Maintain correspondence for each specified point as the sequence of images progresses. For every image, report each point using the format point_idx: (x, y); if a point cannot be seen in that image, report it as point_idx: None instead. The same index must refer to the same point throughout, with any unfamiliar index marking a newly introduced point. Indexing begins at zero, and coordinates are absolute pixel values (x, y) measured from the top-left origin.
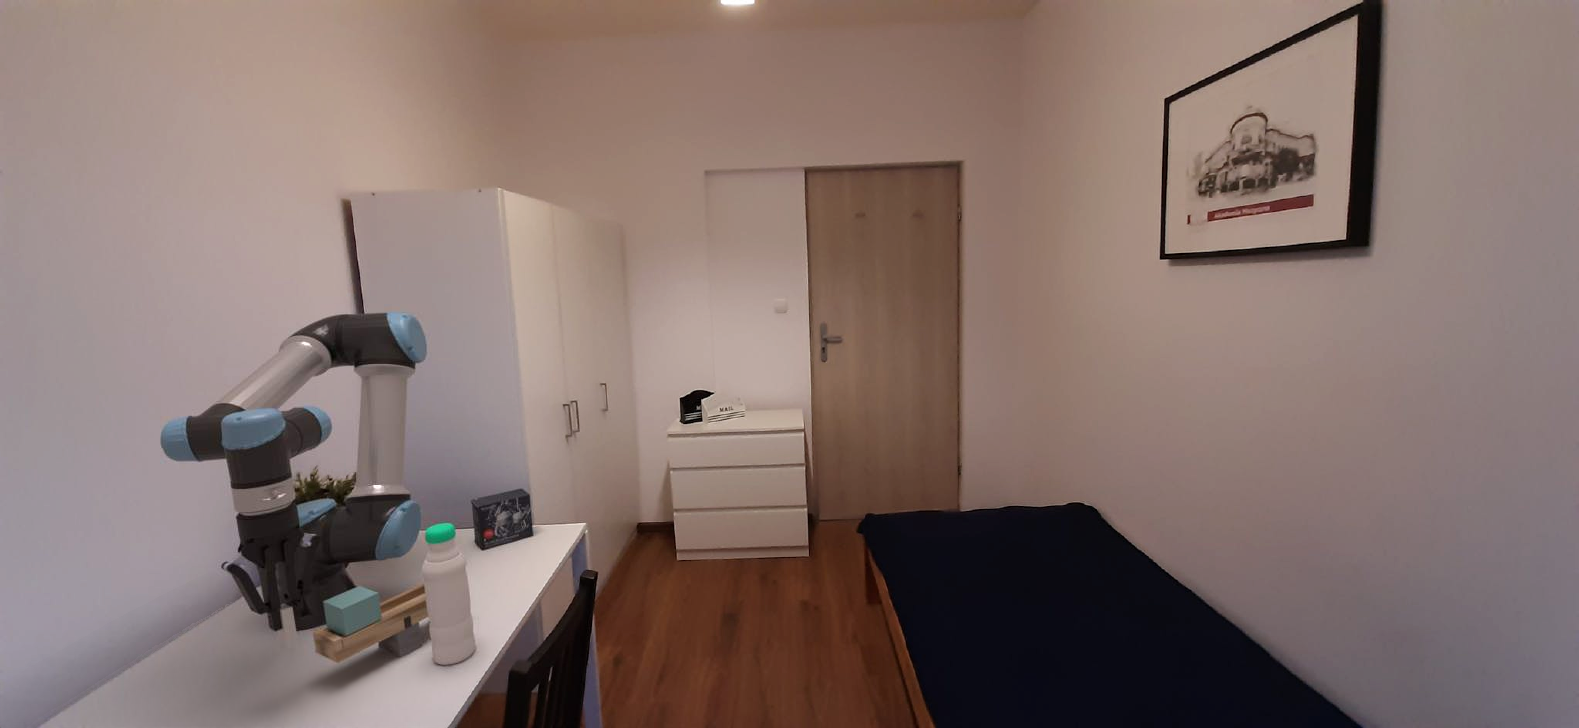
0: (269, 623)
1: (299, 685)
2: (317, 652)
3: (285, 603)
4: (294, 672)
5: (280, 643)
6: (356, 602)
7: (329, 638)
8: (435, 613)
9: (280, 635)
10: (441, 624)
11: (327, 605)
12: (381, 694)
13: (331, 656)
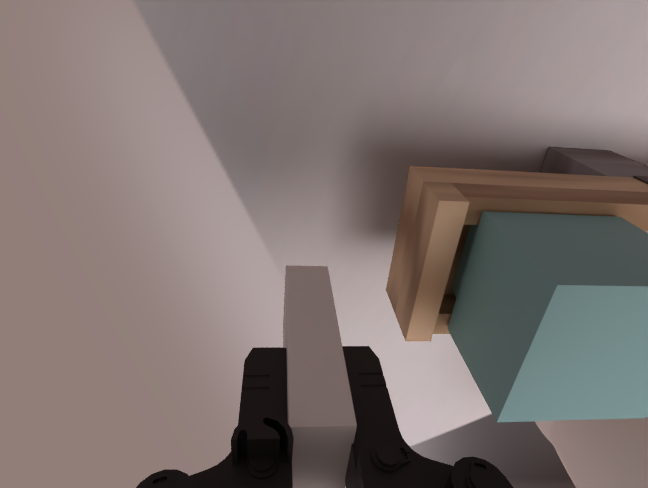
0: (243, 385)
1: (343, 109)
2: (409, 176)
3: (351, 452)
4: (385, 3)
5: (285, 281)
6: (558, 419)
7: (415, 309)
8: (576, 480)
9: (285, 318)
10: (557, 452)
11: (533, 310)
12: (386, 331)
13: (395, 268)
